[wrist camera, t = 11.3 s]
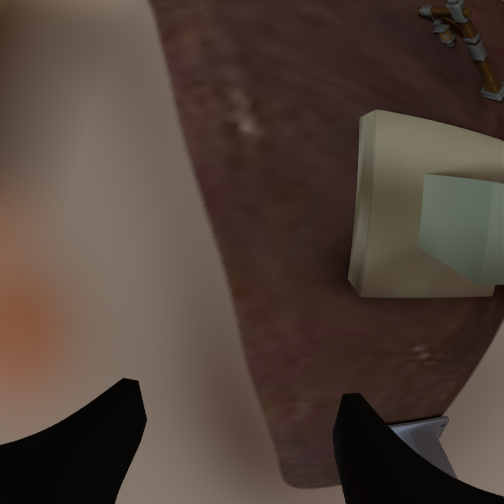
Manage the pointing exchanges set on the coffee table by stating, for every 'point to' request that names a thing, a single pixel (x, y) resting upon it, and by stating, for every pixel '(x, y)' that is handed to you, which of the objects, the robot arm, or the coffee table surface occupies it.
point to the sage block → (464, 226)
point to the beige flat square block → (410, 203)
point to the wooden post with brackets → (474, 44)
